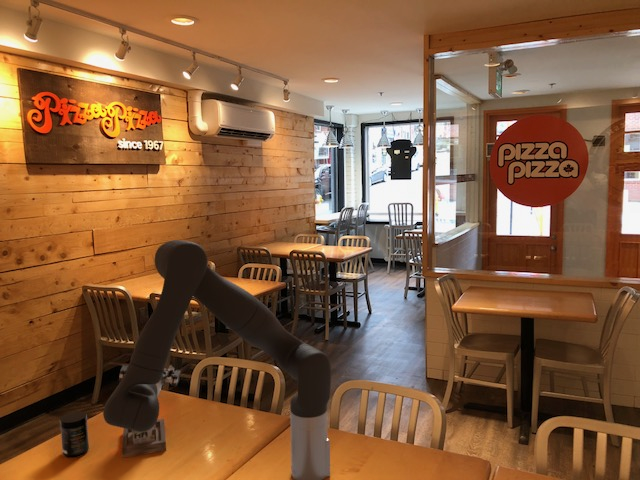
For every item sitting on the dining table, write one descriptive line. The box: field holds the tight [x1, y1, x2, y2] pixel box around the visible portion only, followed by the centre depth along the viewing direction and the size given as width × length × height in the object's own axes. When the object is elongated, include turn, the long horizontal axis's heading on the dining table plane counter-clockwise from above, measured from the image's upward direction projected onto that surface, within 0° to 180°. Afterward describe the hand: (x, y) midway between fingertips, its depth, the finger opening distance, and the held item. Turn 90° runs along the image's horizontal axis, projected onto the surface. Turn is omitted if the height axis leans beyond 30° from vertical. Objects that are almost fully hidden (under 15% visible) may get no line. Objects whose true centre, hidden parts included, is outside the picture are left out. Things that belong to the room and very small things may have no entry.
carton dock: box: [121, 418, 167, 458], centre depth 150 cm, size 11×14×2 cm
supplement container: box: [59, 410, 90, 459], centre depth 144 cm, size 7×7×10 cm
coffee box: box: [132, 423, 156, 445], centre depth 149 cm, size 9×6×16 cm
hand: (154, 367), depth 138 cm, fingers open, 8 cm apart
